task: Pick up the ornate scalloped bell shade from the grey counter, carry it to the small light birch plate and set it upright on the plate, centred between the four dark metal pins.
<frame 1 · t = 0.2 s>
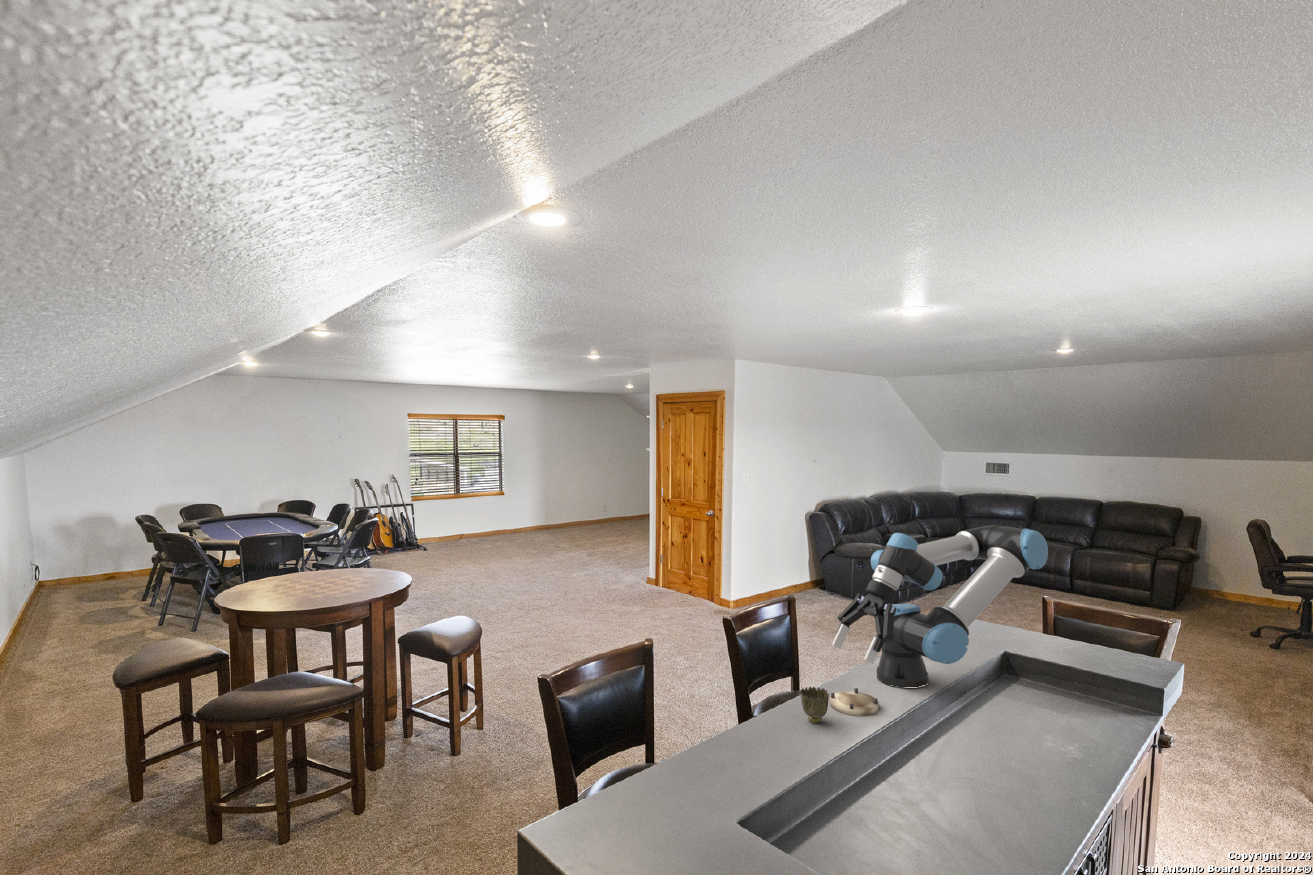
hand: (851, 653, 172), 16 cm above the table, tool tilted 35°, fingers open, 13 cm apart
ornate scalloped bell shade: (815, 722, 168), on the table
seat plate: (854, 705, 177), on the table
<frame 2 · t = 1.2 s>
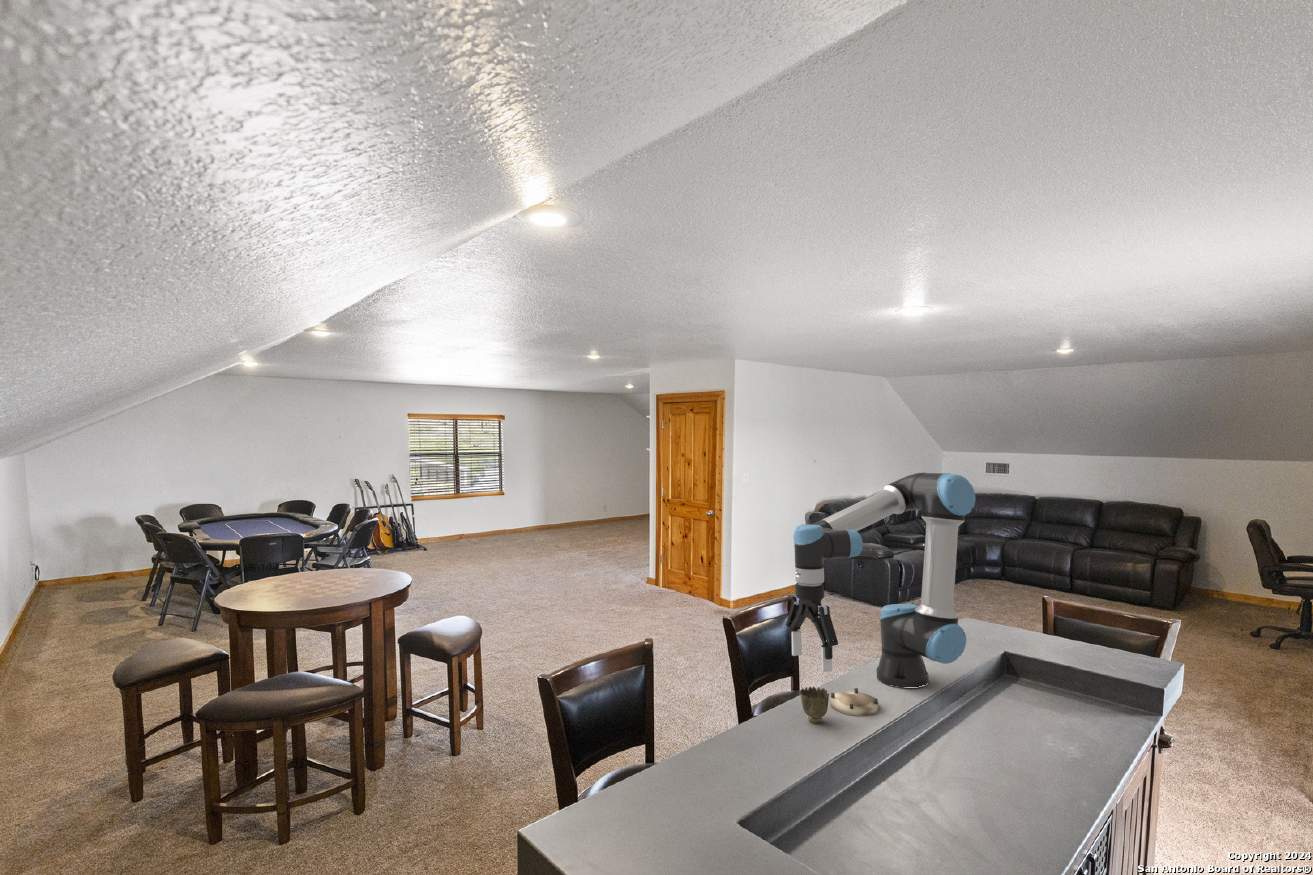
hand: (811, 662, 168), 16 cm above the table, tool pointing down, fingers open, 13 cm apart
nothing on the table moved.
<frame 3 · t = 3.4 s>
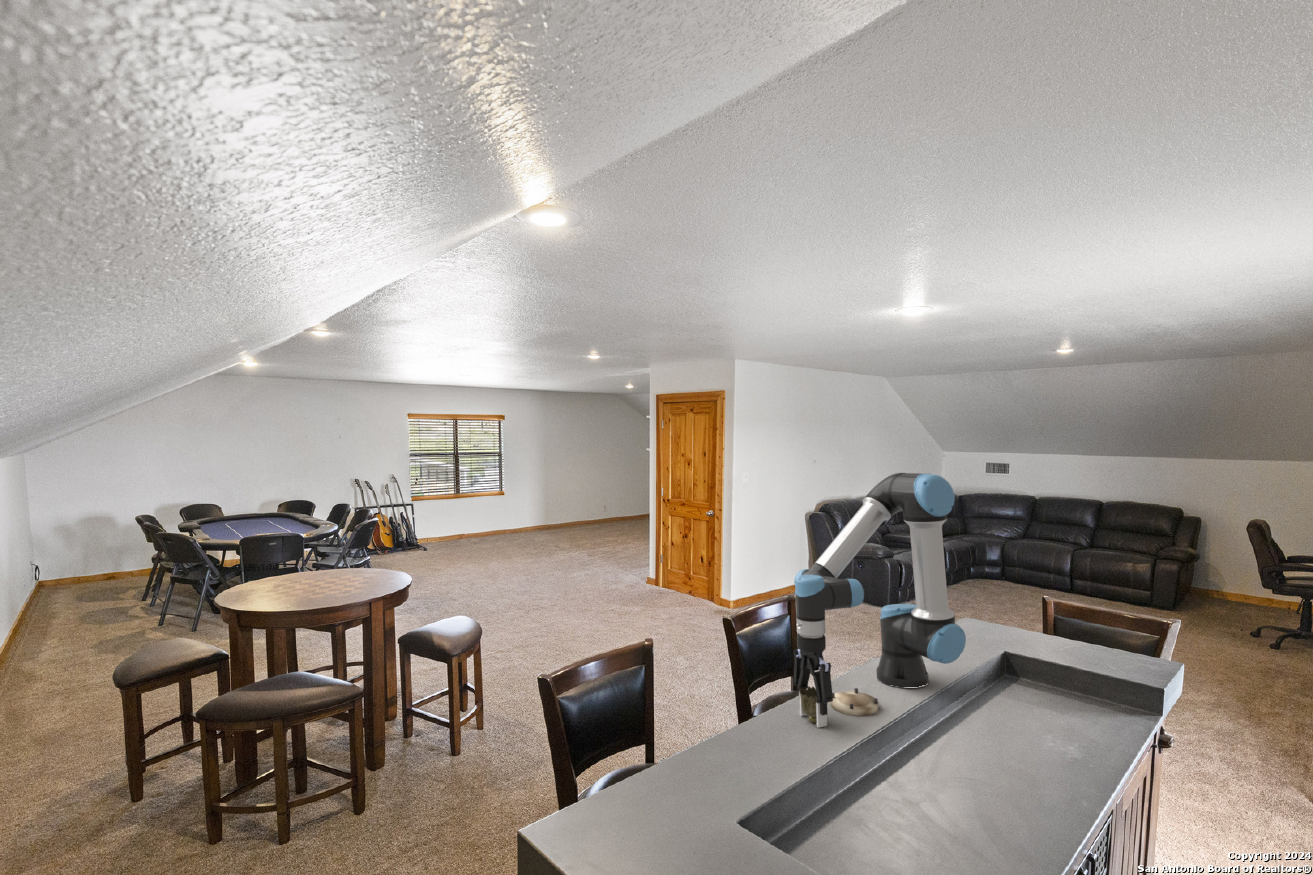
hand: (813, 719, 168), 0 cm above the table, tool pointing down, fingers closed on ornate scalloped bell shade, 7 cm apart
ornate scalloped bell shade: (815, 721, 168), on the table, touching gripper
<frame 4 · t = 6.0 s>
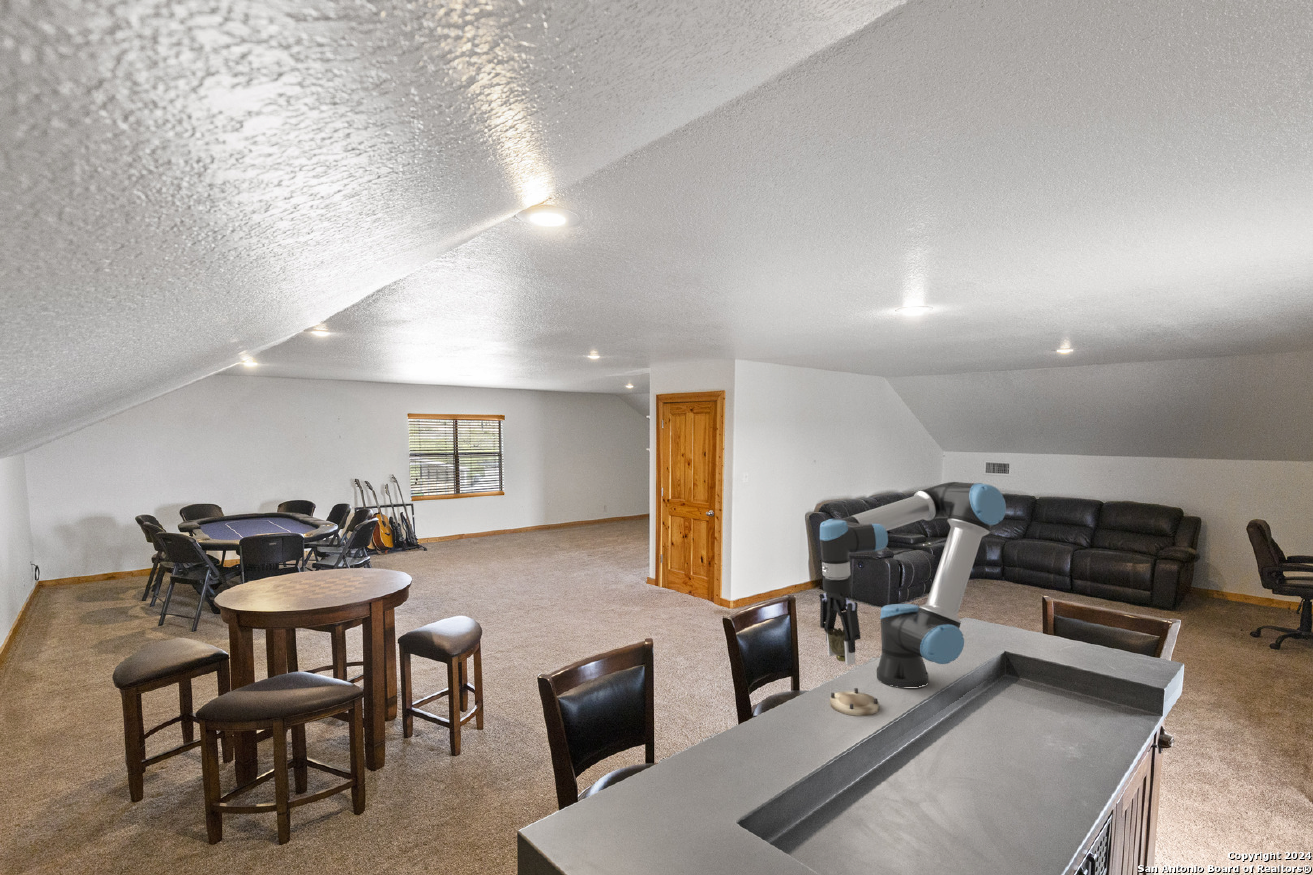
hand: (841, 659, 174), 14 cm above the table, tool pointing down, fingers closed on ornate scalloped bell shade, 7 cm apart
ornate scalloped bell shade: (843, 660, 174), point 14 cm above the table, touching gripper
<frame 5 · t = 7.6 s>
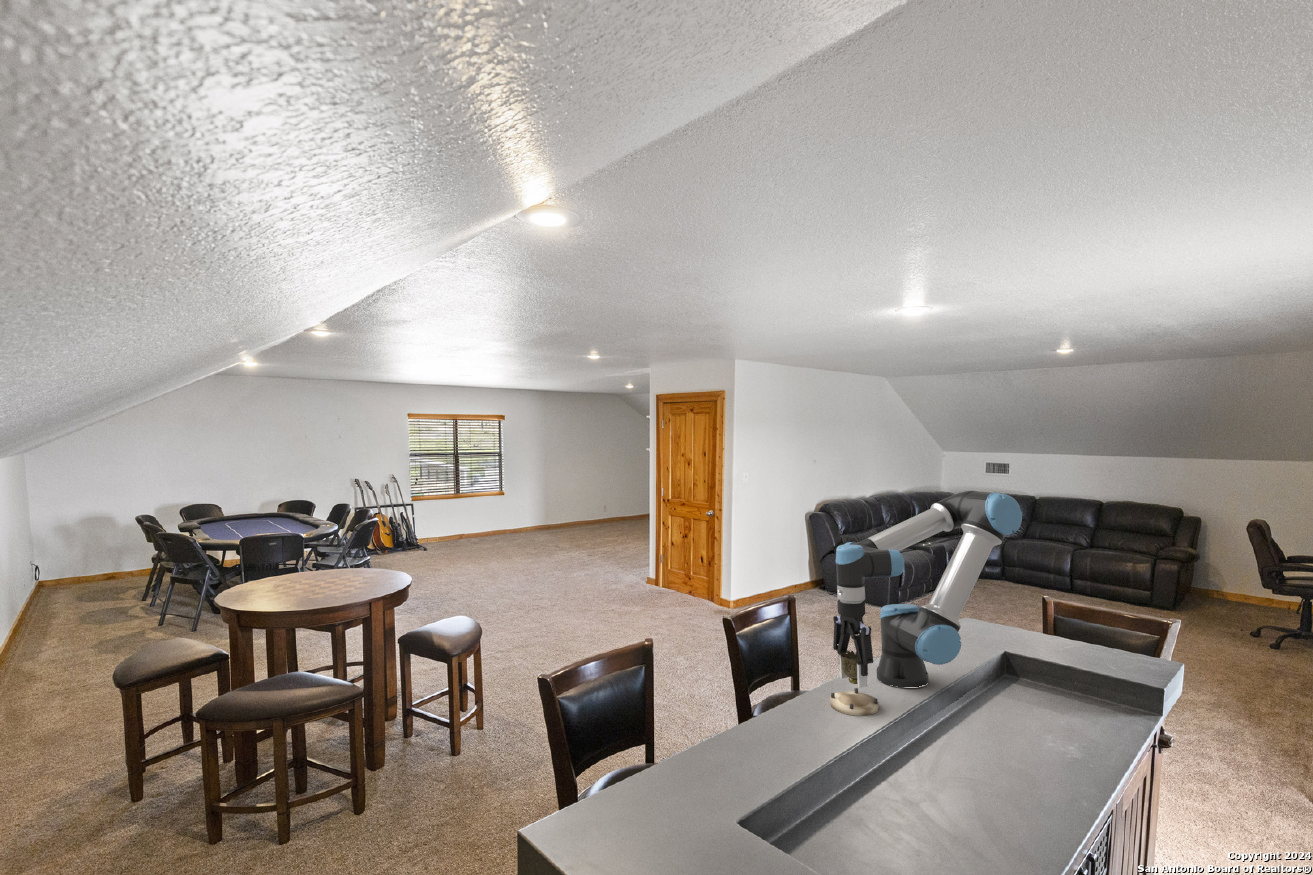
hand: (853, 681, 177), 7 cm above the table, tool pointing down, fingers closed on ornate scalloped bell shade, 7 cm apart
ornate scalloped bell shade: (855, 683, 177), point 6 cm above the table, touching gripper
when the fingers open (3 cm above the table, at t = 8.8 s): ornate scalloped bell shade moves 2 cm, resting on seat plate.
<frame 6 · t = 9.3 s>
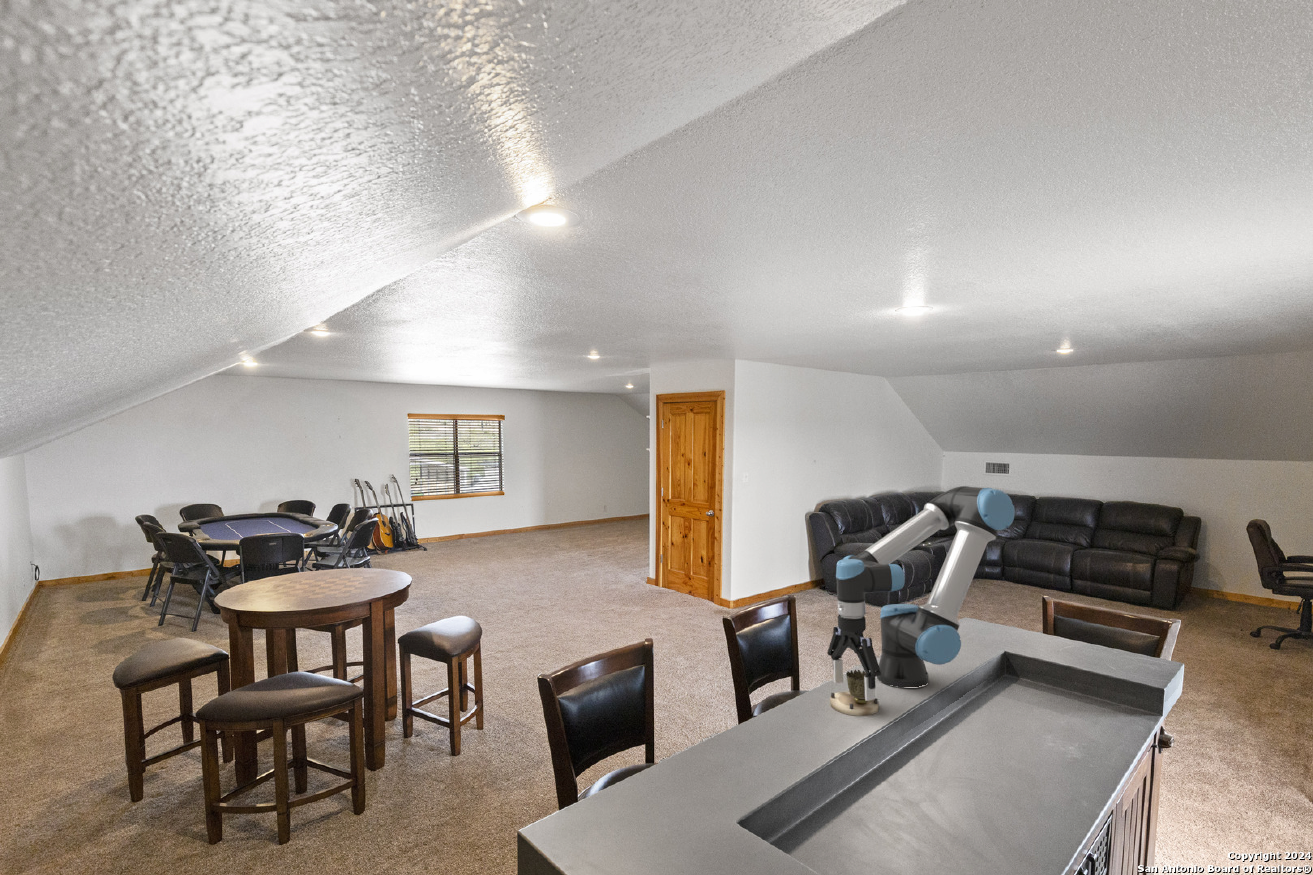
hand: (853, 690, 177), 4 cm above the table, tool pointing down, fingers open, 13 cm apart
ornate scalloped bell shade: (861, 703, 175), point 1 cm above the table, touching seat plate
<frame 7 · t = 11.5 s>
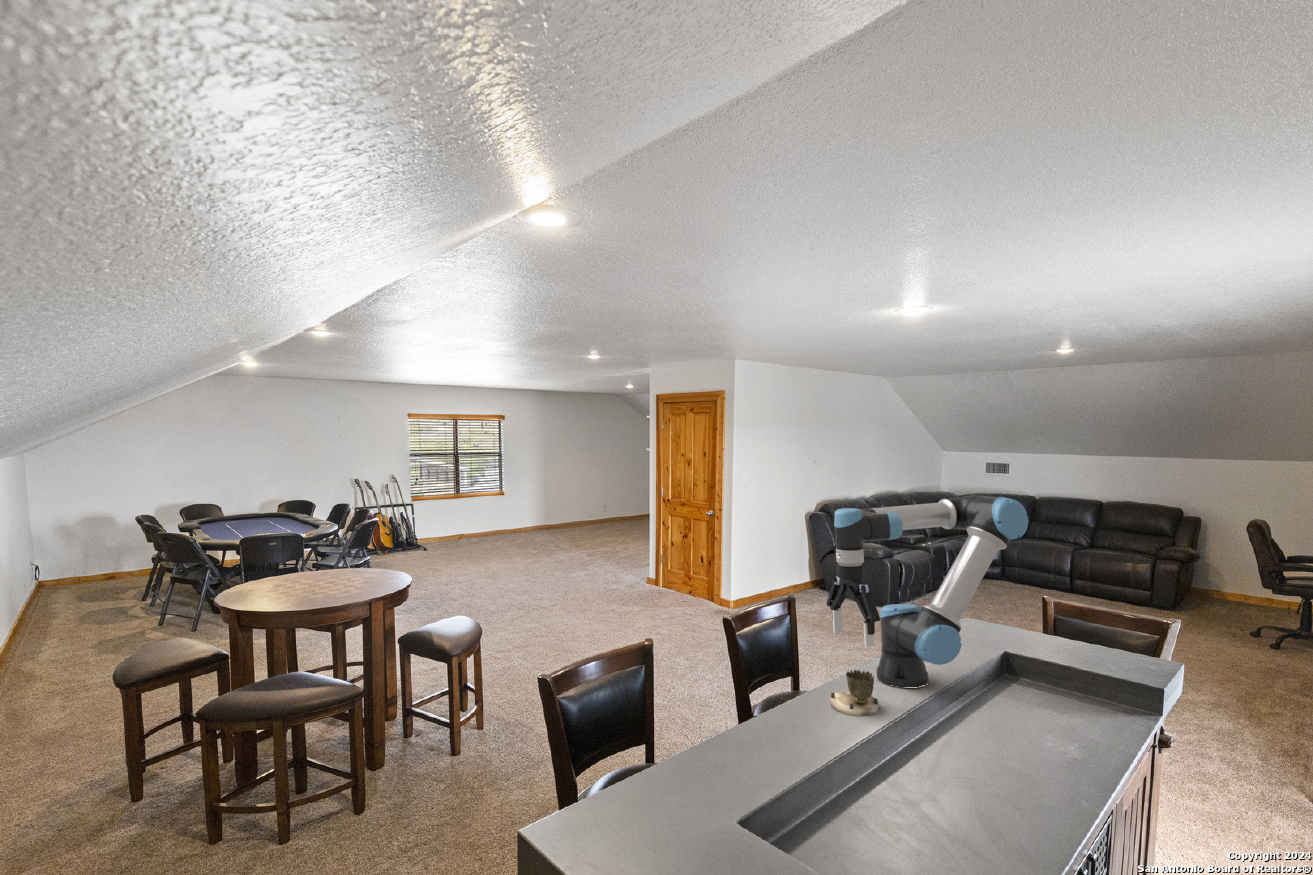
hand: (853, 638, 177), 19 cm above the table, tool pointing down, fingers open, 13 cm apart
nothing on the table moved.
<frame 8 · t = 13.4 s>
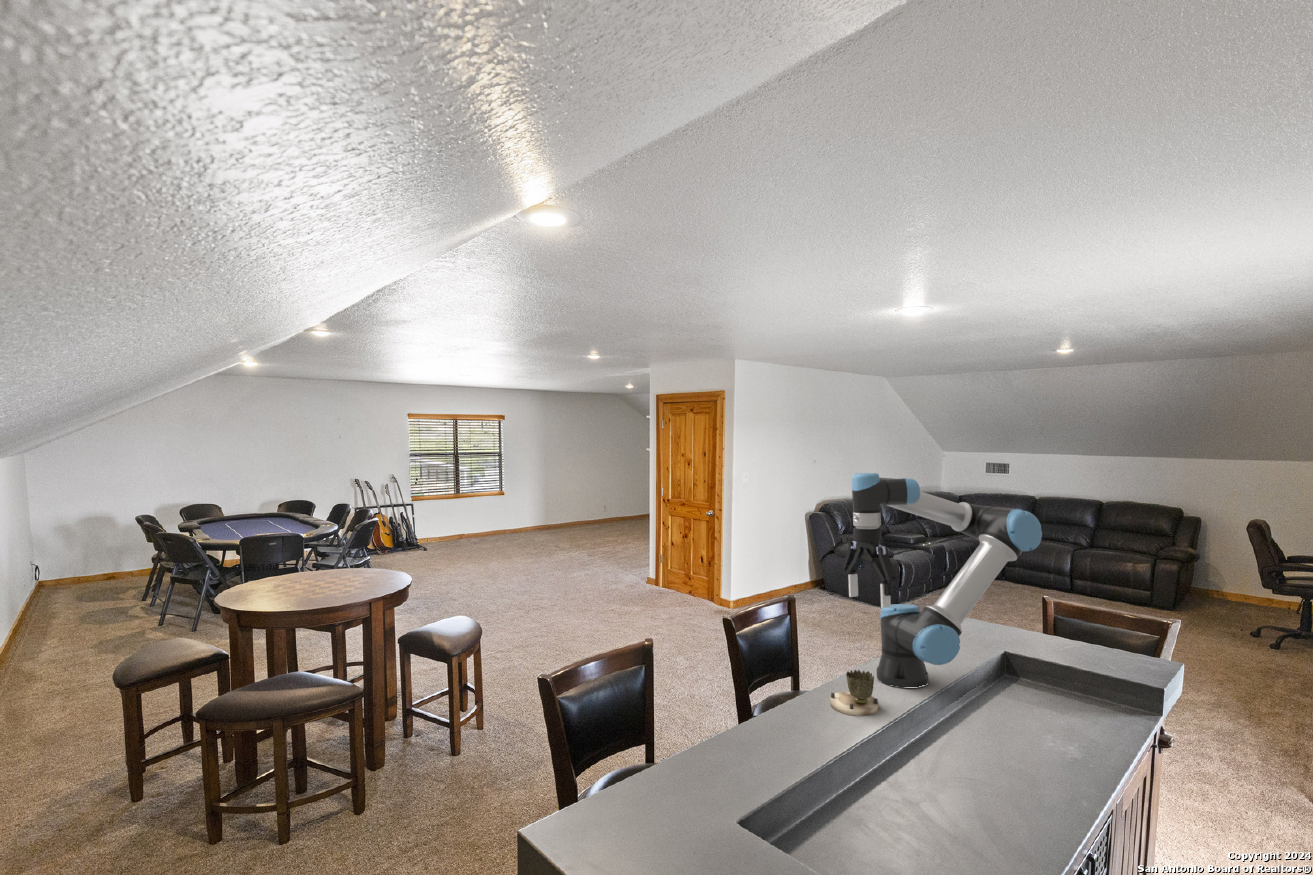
hand: (869, 601, 179), 29 cm above the table, tool pointing down, fingers open, 13 cm apart
nothing on the table moved.
at the end: ornate scalloped bell shade 2.5 cm off-centre on the seat plate, point 1.4 cm above the seat plate's base; ornate scalloped bell shade tilted 0°; the gripper is holding nothing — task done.
